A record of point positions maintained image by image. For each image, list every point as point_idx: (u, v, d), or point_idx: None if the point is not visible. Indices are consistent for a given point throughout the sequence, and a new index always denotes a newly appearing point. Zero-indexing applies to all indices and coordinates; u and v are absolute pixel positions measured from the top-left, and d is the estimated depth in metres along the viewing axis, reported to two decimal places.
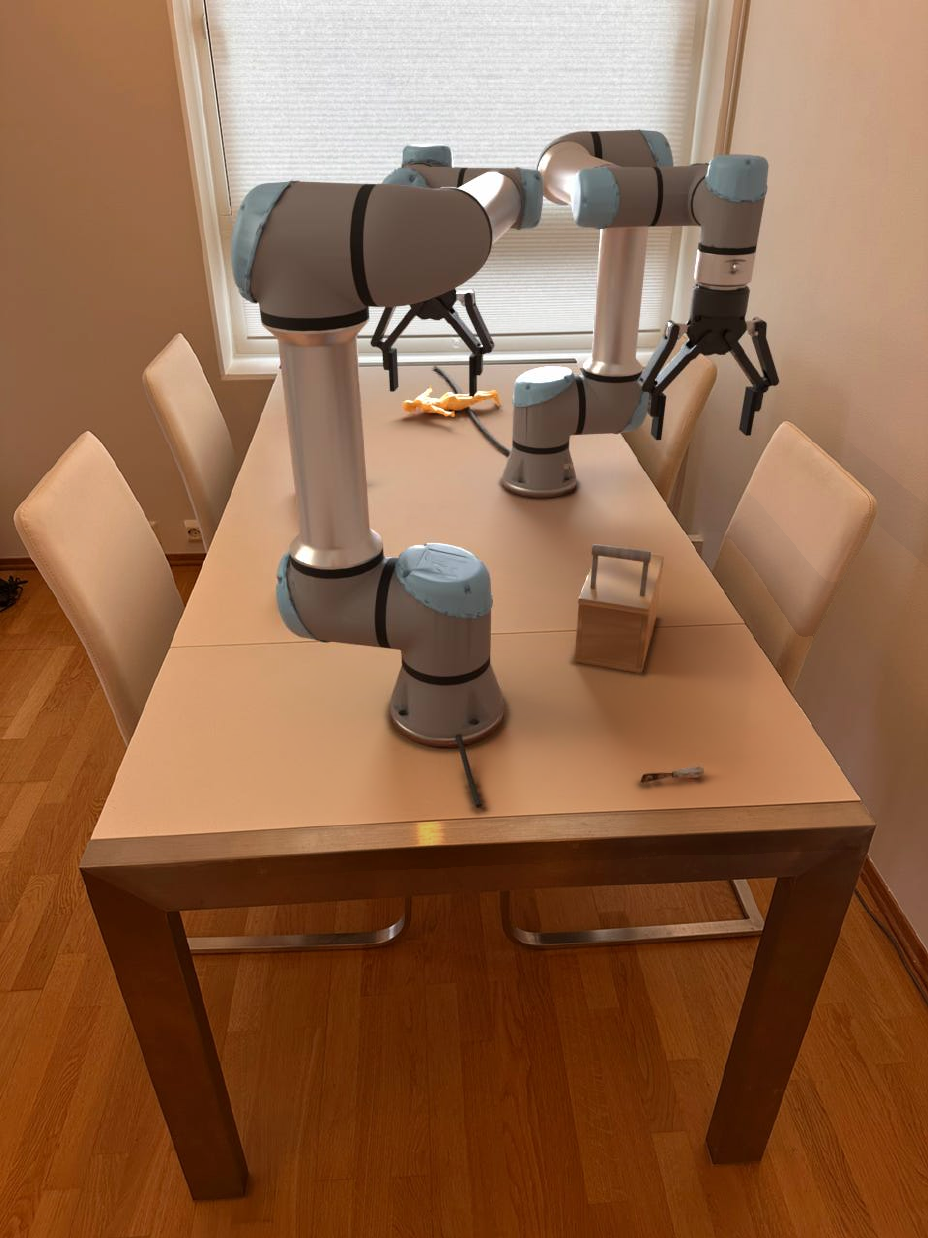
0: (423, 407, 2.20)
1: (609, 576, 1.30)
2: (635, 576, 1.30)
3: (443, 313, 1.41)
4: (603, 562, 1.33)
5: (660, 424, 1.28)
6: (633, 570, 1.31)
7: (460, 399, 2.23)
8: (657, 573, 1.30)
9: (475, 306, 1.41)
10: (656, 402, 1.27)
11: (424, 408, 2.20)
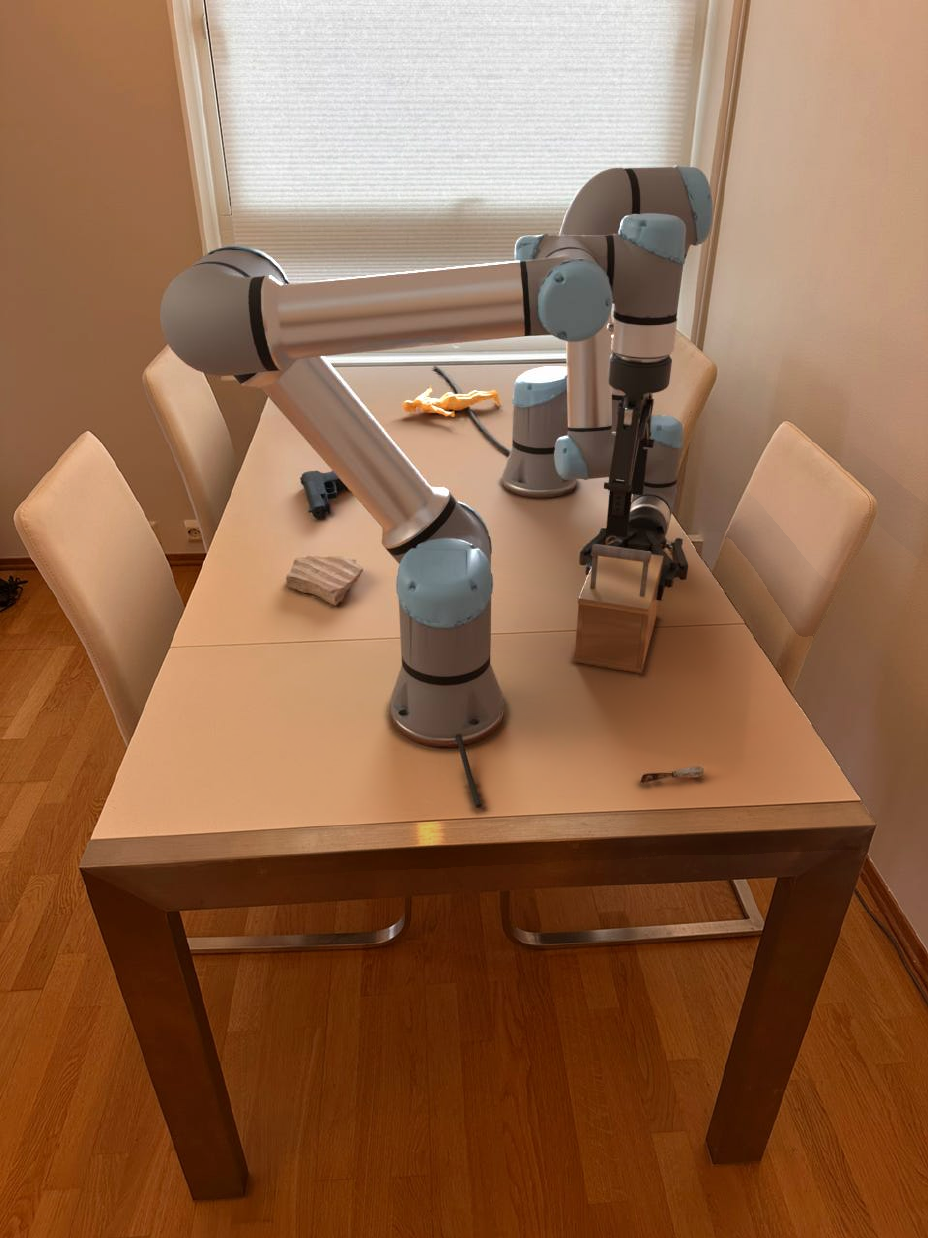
0: (423, 407, 2.20)
1: (609, 576, 1.30)
2: (635, 576, 1.30)
3: (651, 413, 1.14)
4: (603, 562, 1.33)
5: None
6: (633, 570, 1.31)
7: (460, 399, 2.23)
8: (657, 573, 1.30)
9: None
10: None
11: (424, 408, 2.20)
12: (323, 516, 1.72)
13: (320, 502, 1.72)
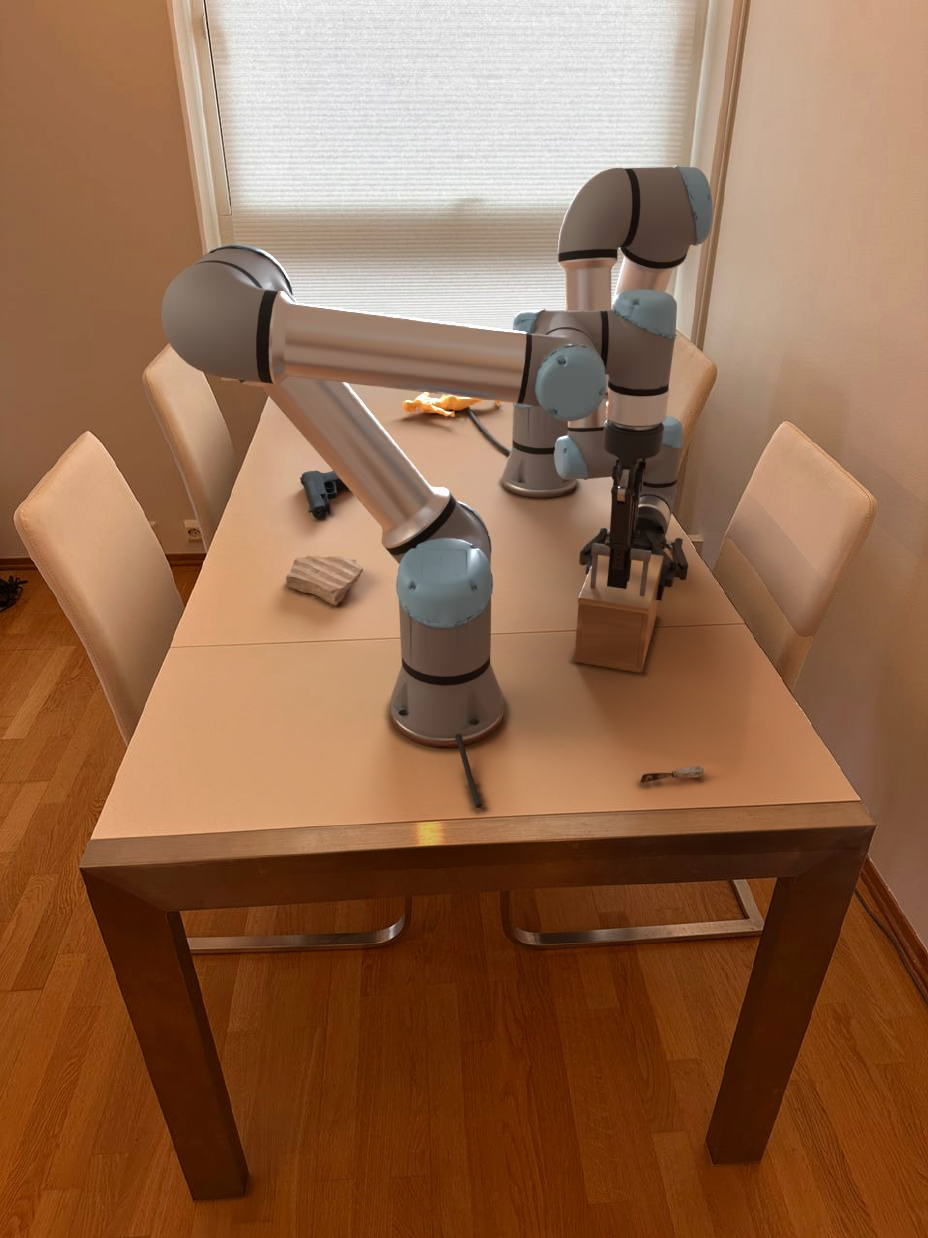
0: (423, 407, 2.20)
1: None
2: (635, 576, 1.30)
3: (642, 480, 1.18)
4: (603, 562, 1.33)
5: None
6: (633, 570, 1.31)
7: (460, 399, 2.23)
8: (657, 573, 1.30)
9: None
10: None
11: (424, 408, 2.20)
12: (323, 516, 1.72)
13: (320, 502, 1.72)
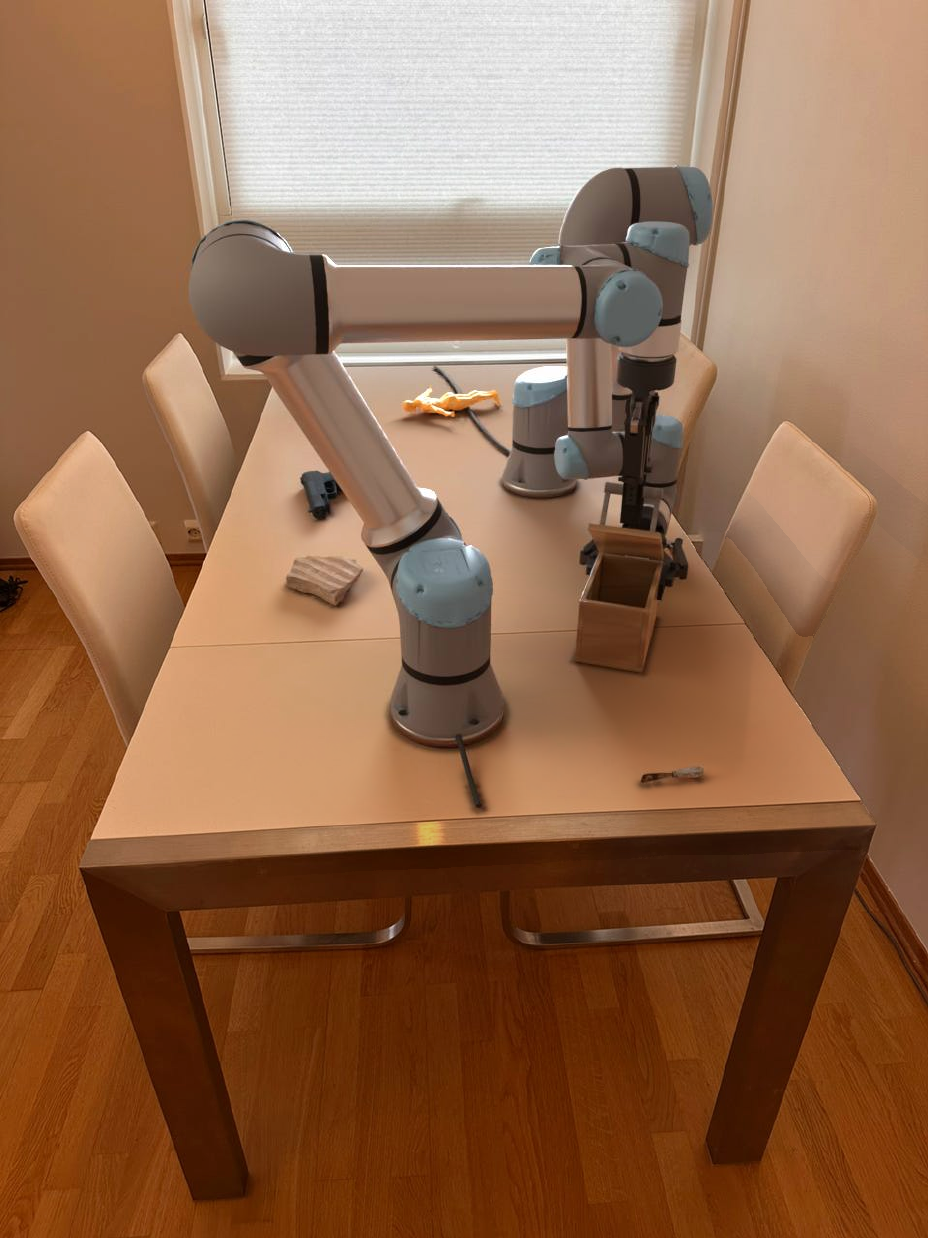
0: (423, 407, 2.20)
1: None
2: None
3: (655, 415, 1.20)
4: None
5: None
6: None
7: (460, 399, 2.23)
8: None
9: None
10: None
11: (424, 408, 2.20)
12: (323, 516, 1.72)
13: (320, 502, 1.72)
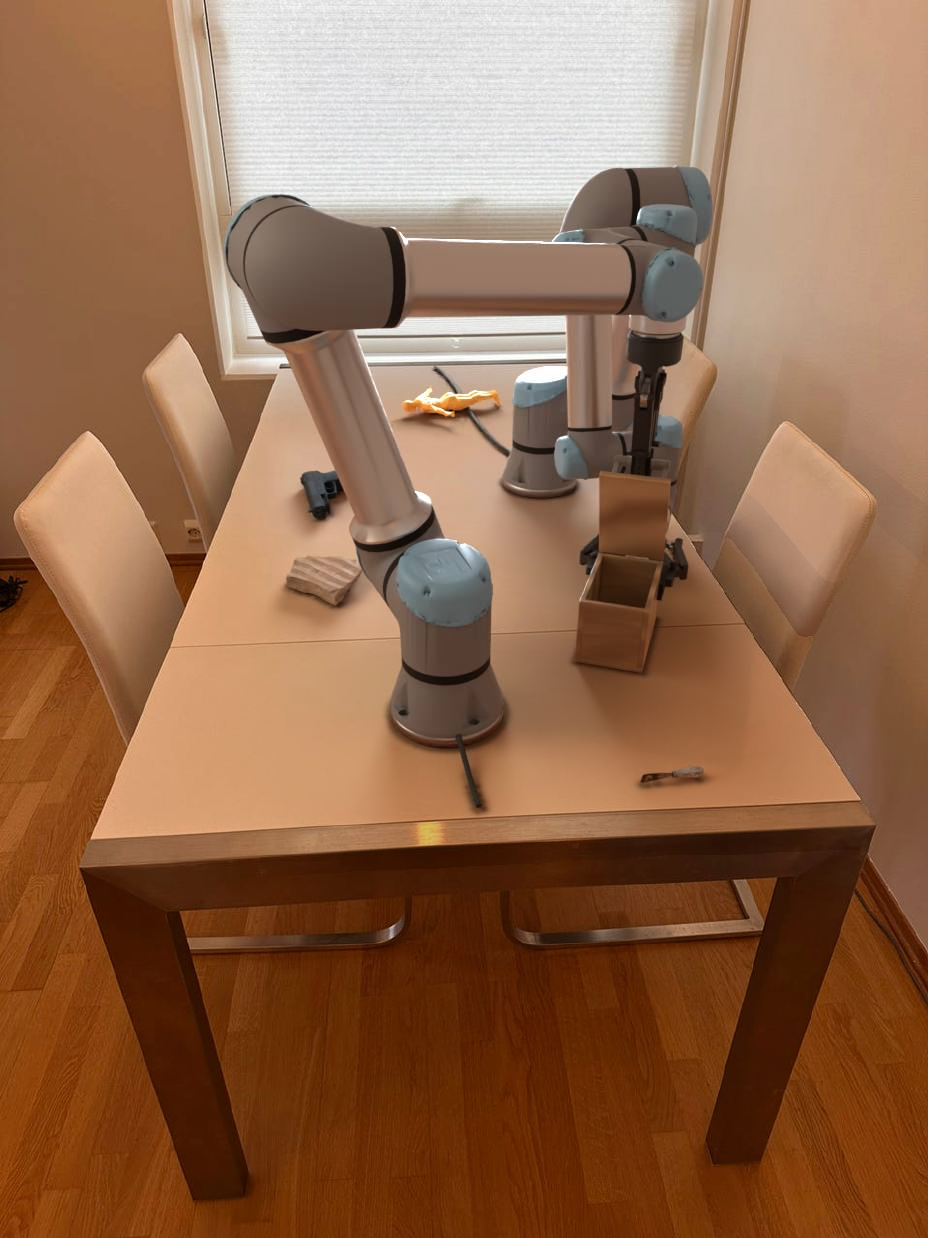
0: (423, 407, 2.20)
1: None
2: None
3: (662, 390, 1.25)
4: None
5: None
6: None
7: (460, 399, 2.23)
8: None
9: None
10: None
11: (424, 408, 2.20)
12: (323, 516, 1.72)
13: (320, 502, 1.72)
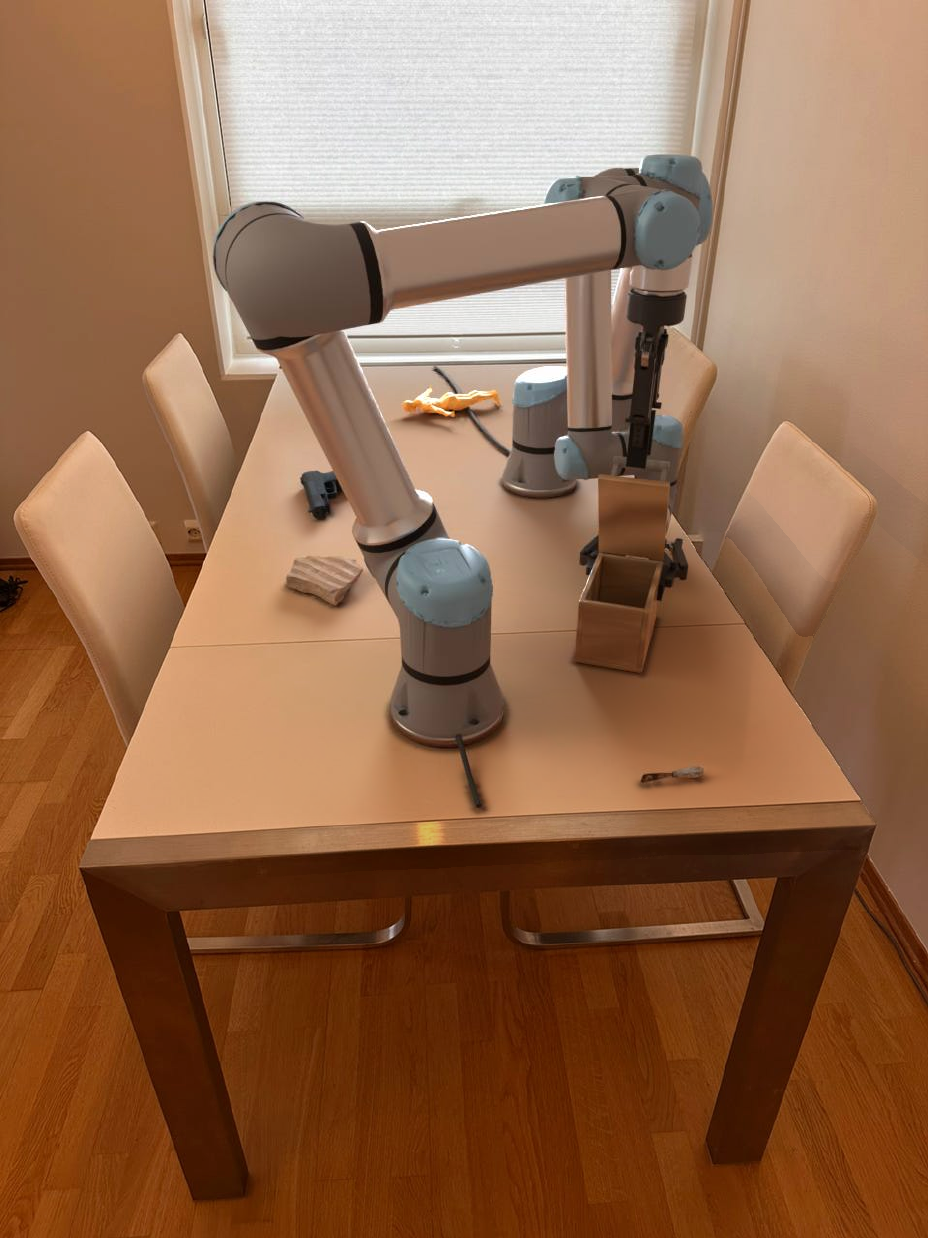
0: (423, 407, 2.20)
1: None
2: None
3: (664, 352, 1.20)
4: None
5: None
6: None
7: (460, 399, 2.23)
8: None
9: None
10: None
11: (424, 408, 2.20)
12: (323, 516, 1.72)
13: (320, 502, 1.72)
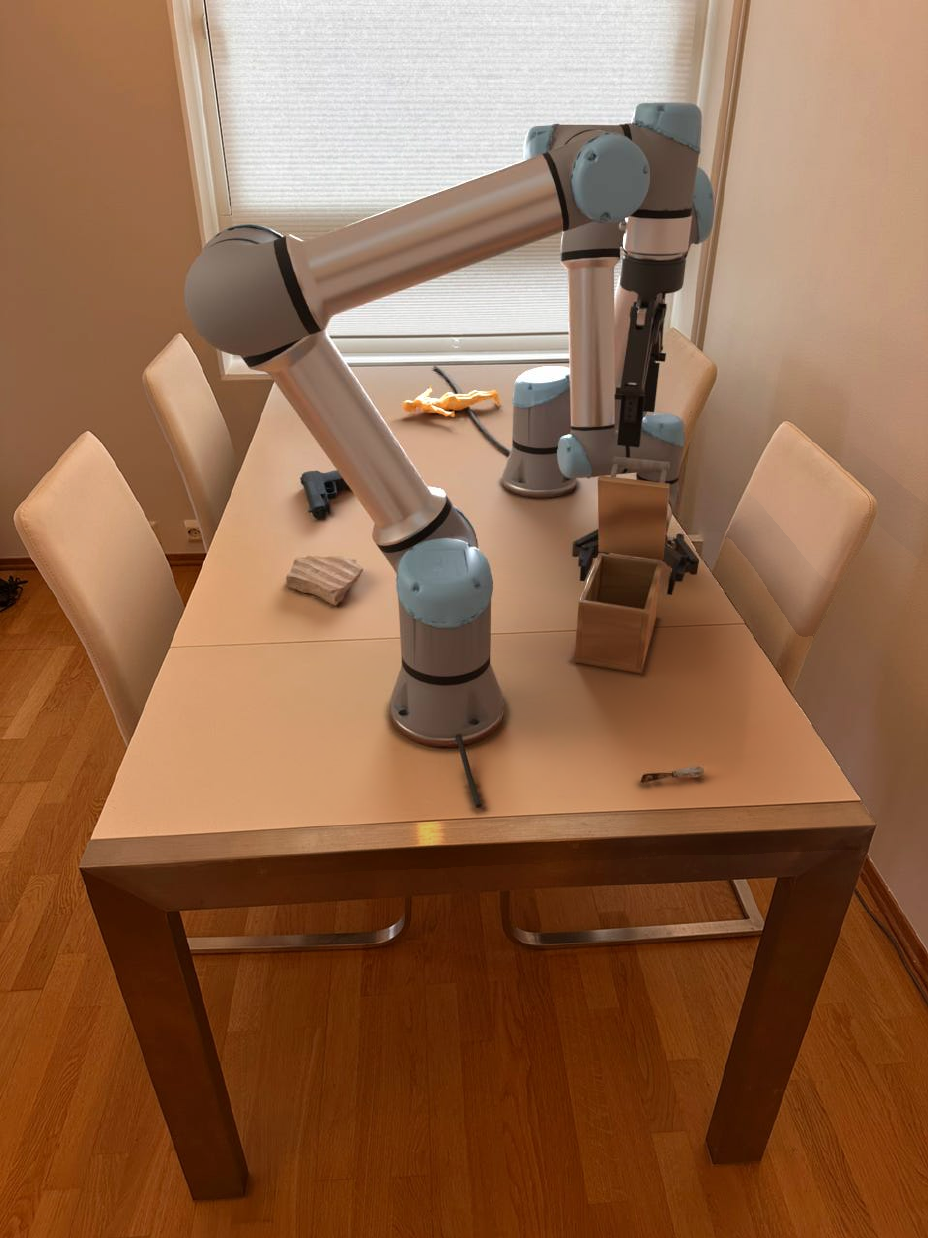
0: (423, 407, 2.20)
1: None
2: None
3: (663, 319, 1.11)
4: None
5: None
6: None
7: (460, 399, 2.23)
8: None
9: None
10: None
11: (424, 408, 2.20)
12: (323, 516, 1.72)
13: (320, 502, 1.72)
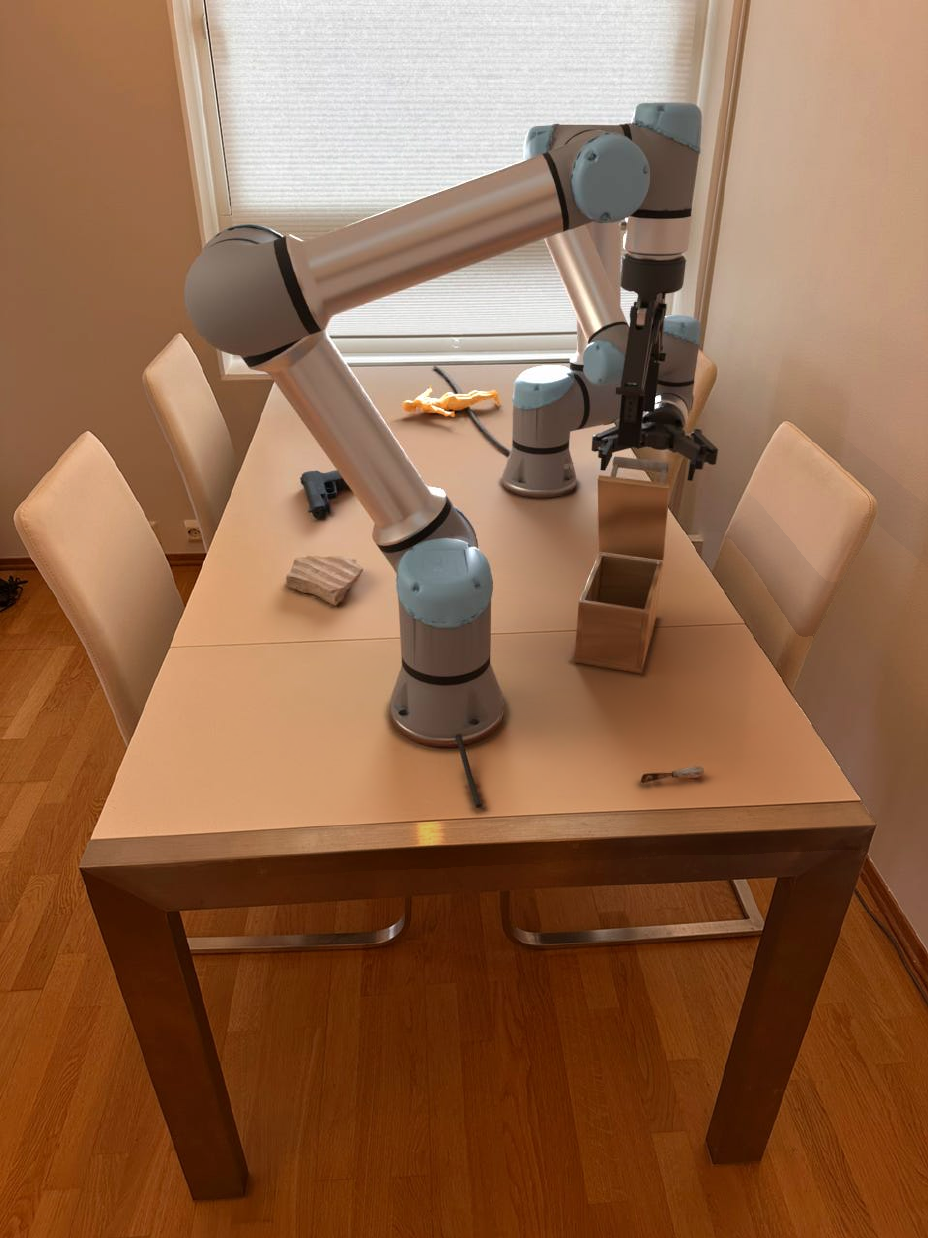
0: (423, 407, 2.20)
1: None
2: None
3: (663, 319, 1.11)
4: None
5: None
6: None
7: (460, 399, 2.23)
8: None
9: None
10: None
11: (424, 408, 2.20)
12: (323, 516, 1.72)
13: (320, 502, 1.72)
